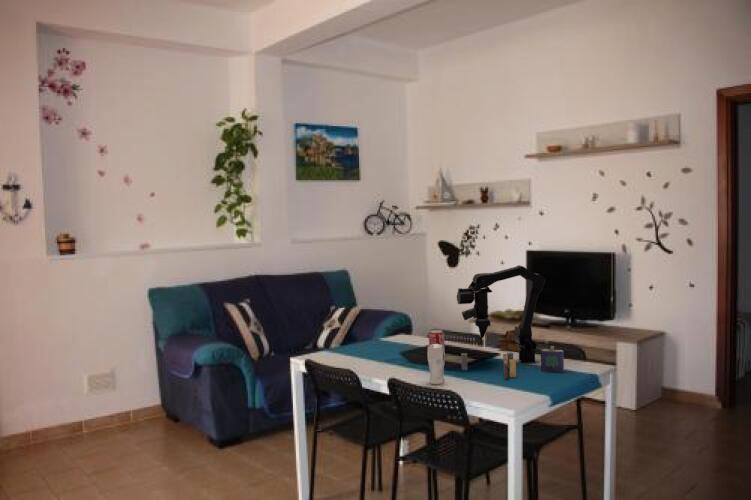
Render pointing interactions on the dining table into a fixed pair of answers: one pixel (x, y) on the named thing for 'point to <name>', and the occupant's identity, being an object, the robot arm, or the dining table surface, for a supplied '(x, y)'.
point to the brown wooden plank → (505, 366)
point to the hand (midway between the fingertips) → (482, 337)
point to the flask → (552, 360)
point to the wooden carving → (509, 341)
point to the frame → (510, 362)
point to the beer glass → (436, 363)
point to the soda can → (436, 337)
